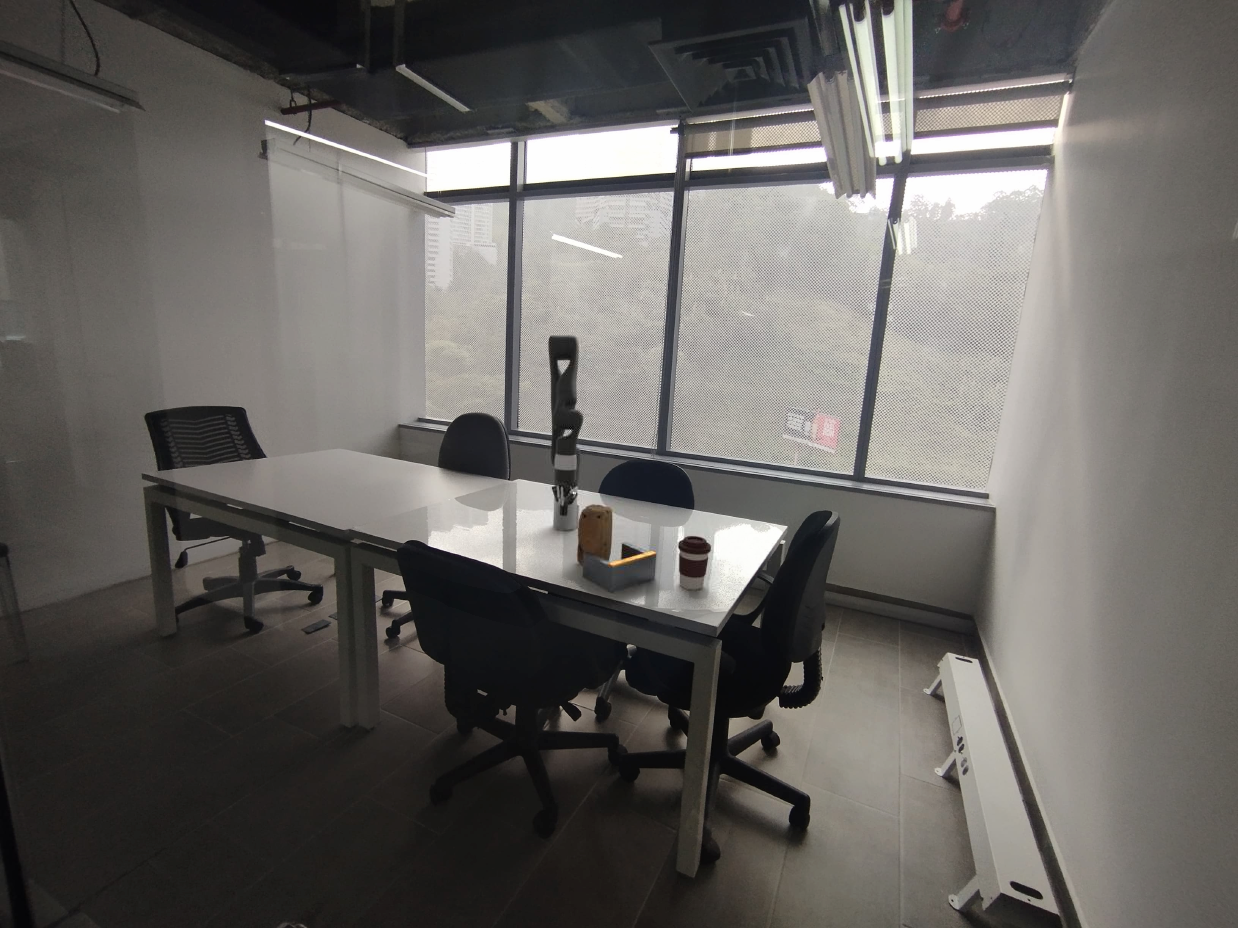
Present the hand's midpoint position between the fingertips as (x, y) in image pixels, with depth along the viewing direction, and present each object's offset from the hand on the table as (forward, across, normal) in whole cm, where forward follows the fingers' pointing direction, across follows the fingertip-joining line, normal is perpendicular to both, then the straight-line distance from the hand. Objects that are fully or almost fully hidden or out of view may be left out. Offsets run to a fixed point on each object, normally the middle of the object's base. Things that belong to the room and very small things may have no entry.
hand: (563, 515), depth 186 cm
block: (+13, -17, -1) cm, 21 cm away
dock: (+13, -29, -1) cm, 32 cm away
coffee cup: (+13, -47, -16) cm, 51 cm away
